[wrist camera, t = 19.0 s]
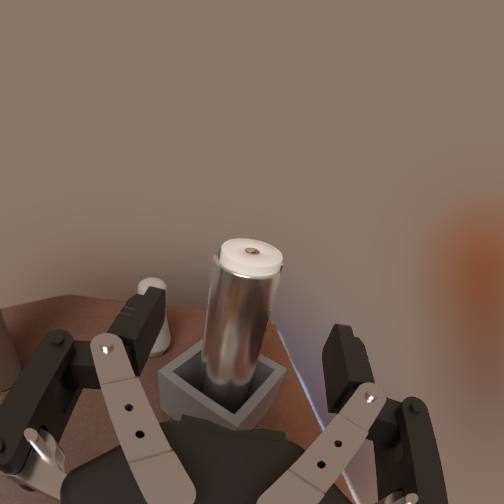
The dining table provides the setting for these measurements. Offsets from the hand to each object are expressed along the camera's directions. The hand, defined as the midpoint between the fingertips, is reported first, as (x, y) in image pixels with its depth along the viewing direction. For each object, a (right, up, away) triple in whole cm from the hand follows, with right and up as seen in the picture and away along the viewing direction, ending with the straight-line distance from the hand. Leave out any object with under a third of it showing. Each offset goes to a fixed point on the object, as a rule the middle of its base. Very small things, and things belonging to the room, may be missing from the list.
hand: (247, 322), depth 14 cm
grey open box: (-5, -19, +24) cm, 31 cm away
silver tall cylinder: (-4, -19, +24) cm, 31 cm away
